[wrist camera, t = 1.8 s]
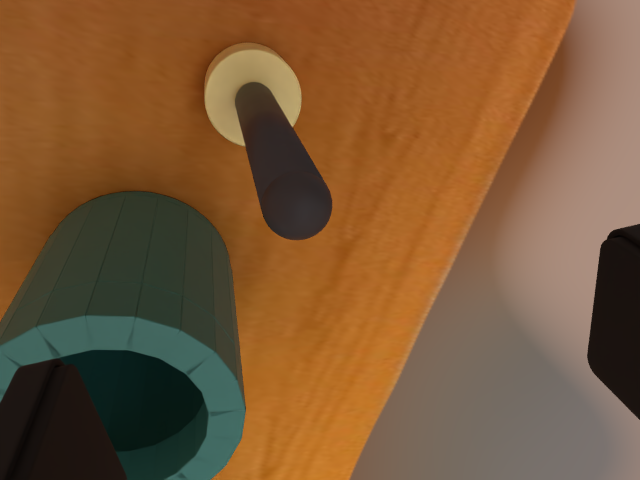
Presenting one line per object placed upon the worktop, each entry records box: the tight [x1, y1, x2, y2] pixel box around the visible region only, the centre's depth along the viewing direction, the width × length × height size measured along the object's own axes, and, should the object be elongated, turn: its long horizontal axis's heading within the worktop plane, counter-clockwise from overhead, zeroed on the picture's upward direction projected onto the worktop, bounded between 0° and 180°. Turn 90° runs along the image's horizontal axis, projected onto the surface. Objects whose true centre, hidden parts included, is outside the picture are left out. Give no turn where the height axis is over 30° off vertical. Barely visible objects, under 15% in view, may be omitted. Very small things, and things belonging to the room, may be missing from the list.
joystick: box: [204, 43, 332, 240], centre depth 22 cm, size 5×5×18 cm
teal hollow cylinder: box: [0, 191, 246, 480], centre depth 28 cm, size 11×11×13 cm
